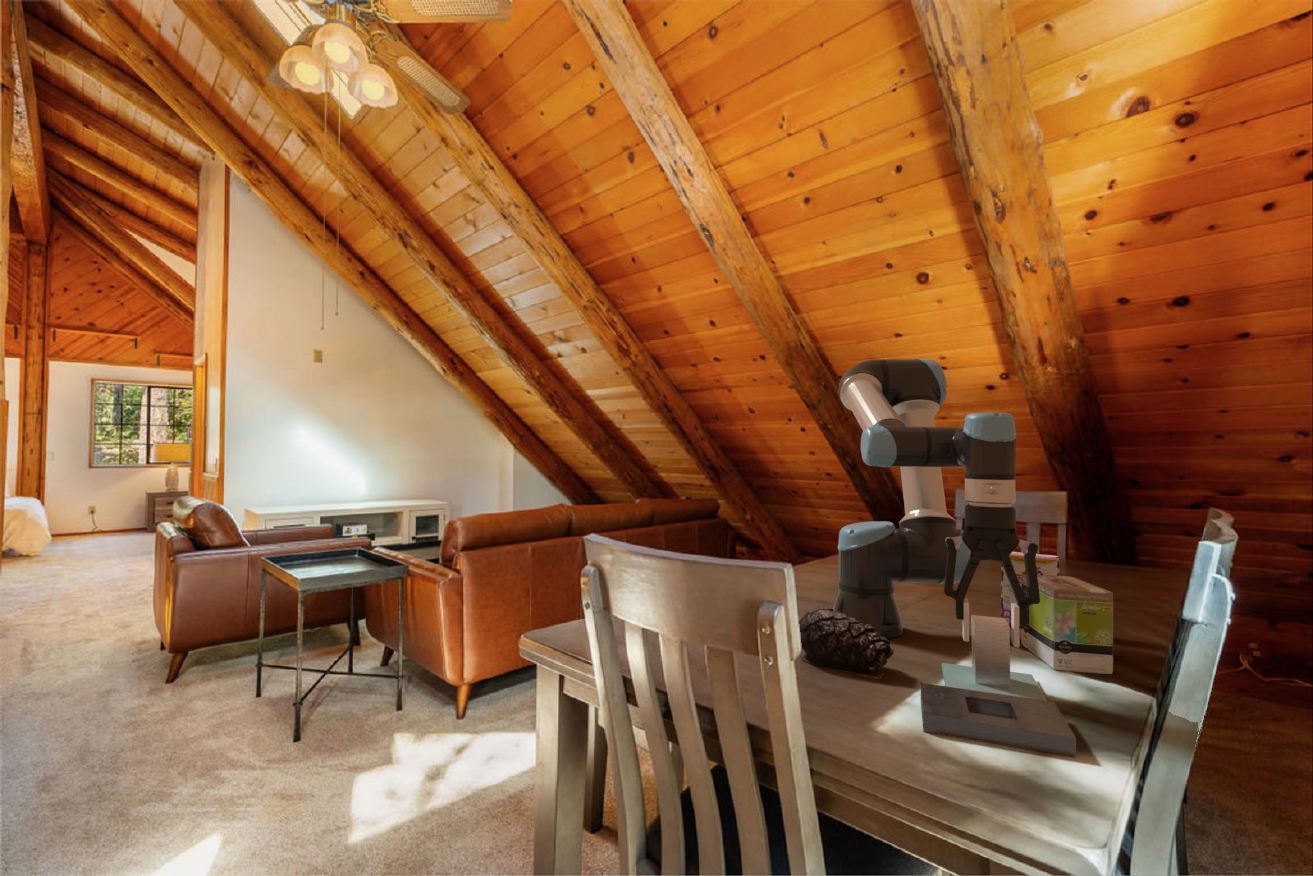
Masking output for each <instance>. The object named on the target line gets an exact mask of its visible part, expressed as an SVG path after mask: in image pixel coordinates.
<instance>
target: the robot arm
mask: <svg viewBox="0 0 1313 876" xmlns="http://www.w3.org/2000/svg"><path fill="white" fill-rule="evenodd" d="M947 386H948V385H947V378H946V375H945V371H944V369H943V368H942V366H941V364H940V363H939V362H937V361H935V360H934V359H926V358H925V359H924V358H920V357H917V358H908V359H907V358H906V359H902V358H900V359H899V358H897V359H896V358H895V359H894V358H892V359H890V358H889V359H888V358H887V359H885V358H883V359H880V358H878V359H877V358H875V359H868V360H867V359H866V360H863V361H860V362H858V363H857V364H854V365H853V366H851V367H850V368H849V369H848V370H847V371H845V373H844V374H843V375H842V377H841V379H840V380H839V384H838V388H837V389H838V390H837V391H838V397H839V399H840V401H841V403H842V405H843V406H844V407H845V408H846V409H847V410H849V411H851V412H852V414H853V416H854V417H855V419H856V421H857V423H858V424H859V426H860V429H862V433H861V437H860V453H861V458H862V462H863V463H864V464H865V465H867V466H869V467H881V468H890V467H891V468H897V467H898V468H899V467H900V477H901V486H902V497H903V504H904V514H905V515H904V517H902V518H901V520H900V521H898V525H899V528H896V527H895V525H894V523H893V522H891V521H887V520H885V521H884V520H883V521H881V520H880V521H878V520H877V521H876V520H875V521H873V520H872V521H864V522H855V523H850V524H846V525H845V526H843V527H841V529H840V530H839V533H838V544H837V550H838V591H837V592H838V593H837V595H836V597H835V601H834V604H833V606H832V609H833V610H834V611H839V612H841V613H844V614H846V615H847V616H849V617H851V618H854V619H856V620H857V621H859V622H860V623H862V624H864V625H867V624H868V625H871V627H874V628H875V631H874V632H877V633H878V634H879V635H880V636H881V637H883V638H886V639H892V638H897V637H899V636H901V635H903V631H904V623H903V620H902V619H903V618H902V616H901V612H900V609H899V607H898V603H897V600H896V597H895V583H912V584H916V583H918V584H936V585H942V584H943V593H944V595H945V596H946V597H950V598H952V599H954V601H955V603H954V607H955V609H954V611H955V612H954V614H955V615H954V616H956V620H960V621H962V639H963V642H970V601H969V600H968V599H967V598H965V597H966V595H967V593H968V590H969V588H970V585H971V582H972V580H973V578H974V575H975V573H976V571H977V568H978V566H980V565H979V564H980V562H981V561H989V560H992V561H994V562H995V561H996V562H1000V563H1001V566H1002V565H1003V568H1004V571H1005V573H1006V576H1007V578H1008V581H1009V583H1010V586H1011V588H1012V591H1013V593H1014V596H1015V598H1016V601H1017V604H1016V603H1011V626H1010V628H1011V630H1010V632H1011V634H1010V635H1011V637H1010V639H1011V641H1010V643H1011V644H1012V645H1013V647H1015V648H1020V628H1019V626H1026V624H1027V607H1028V606H1029V605H1032V604H1039V603H1040V595H1039V587H1038V578H1037V570H1036V561H1035V557H1036V554H1038V550H1039V545H1038V543H1036V542H1034V541H1031V540H1029V541H1027V540H1023V539H1021V538H1019V536H1018V534H1017V527H1016V526H1017V512H1016V511H1017V508H1015V507H1014V506H1012V504H1015V503H1016V502H1017V501H1016V499H1017V498H1016V496H1017V495H1016V490H1017V489H1016V454H1017V452H1016V451H1017V450H1016V447H1017V439H1016V438H1017V435H1018V434H1017V432H1016V423H1015V422H1016V421H1015V417H1014V416H1013V414H1011V413H1008V412H973V413H969V414H967V415H966V416H965V418H964V425H963V426H936V423H935V422H936V421H935V416H936V415H937V413H938V412H939V411H940V406H943V404H944V403H945V401H946V399H947ZM942 468H957V469H959V468H962V469H964V500H965V501H966V502H968V503H967V504H966V506H964V530H963V529H961V528H960V529H959V528H957V521H956V519H955V518H954V517H952V516H951V515H950V514H949V513H948V511H947V505H946V497H945V490H944V482H943V473H942ZM1018 546H1019V549H1020V552H1022V553H1023V554H1024V562H1025V571H1026V579H1027V588H1028V595H1027V596H1024V593H1023V591H1022V588H1021V586H1020V583H1019V581H1018V578H1017V576H1016V573H1015V571H1014V568H1013V565H1012V562H1011V560H1010V557H1009V555H1010V554H1011V553H1012V552H1014V551H1015V549H1016V548H1017V547H1018ZM956 583H958V585H957V588H956V589H955V588H954V584H956Z"/></svg>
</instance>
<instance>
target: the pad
mask: <svg viewBox="0 0 1313 876" xmlns="http://www.w3.org/2000/svg"><path fill="white" fill-rule="evenodd" d="M941 671H942V677H943V682H944V686H946V687H953V688H961V689H968V690H975V691H982V692H989V693H996V694H1003V695H1010V696H1017V697H1024V698H1031V699H1038V700H1045V701H1048V699H1047V698H1046V696H1045V694H1044V693H1043V691H1042V689H1041V688H1040V687H1039V684H1038V682H1037V681H1036V680H1035V678H1034V676H1033V674H1031V673H1025V672H1024V673H1022V672H1017V671H1016V672H1015V671H1010V688H1005V687H997V686H990V685H982V684H976V683H975V680H974V677H973V674H972V666H969V665H960V664H955V663H954V664H953V663H946V662H941Z"/></svg>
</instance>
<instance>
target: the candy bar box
mask: <svg viewBox="0 0 1313 876" xmlns="http://www.w3.org/2000/svg"><path fill="white" fill-rule="evenodd" d="M1009 557H1010V560H1011V562H1012V565H1013V568H1014V571H1015V573H1016V576H1017V578H1018V581H1019V583H1020V586H1021V588H1022V574H1026V571H1025V562H1024V554H1023V553H1022V552H1021V551H1020V552H1019V551H1012V553H1011V554H1010V555H1009ZM1035 561H1036V570H1037V575H1049V576H1060V566H1061V565H1060V556H1058V555H1051V554H1039V553H1036V557H1035ZM1000 575H1001V580H1000V581H1001V582H1000V618H1005V620H1006V621H1007V623H1008V625H1009V627H1011V603H1016V604H1017V601H1016V598H1015V596H1014V593H1013V591H1012V588H1011V586H1010V583H1009V581H1008V578H1007V576H1006V573H1005V571H1004V568H1003V565H1002V564H1001V574H1000ZM1019 627H1022V626H1019Z"/></svg>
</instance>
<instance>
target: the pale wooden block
mask: <svg viewBox="0 0 1313 876" xmlns="http://www.w3.org/2000/svg"><path fill="white" fill-rule="evenodd" d="M970 619H971V620H970V622H971V623H970V624H971V667H972V674H973V677H974V680H975V683H976V684H982V685H990V686H997V687H1005V688H1010V672H1011V647H1010V643H1011V641H1010V639H1011V637H1010V635H1011V634H1010V626H1009V625H1008V623H1007V621H1006V620H1005V618H1001V617H997V616H985V615H975V614H971V617H970Z"/></svg>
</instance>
